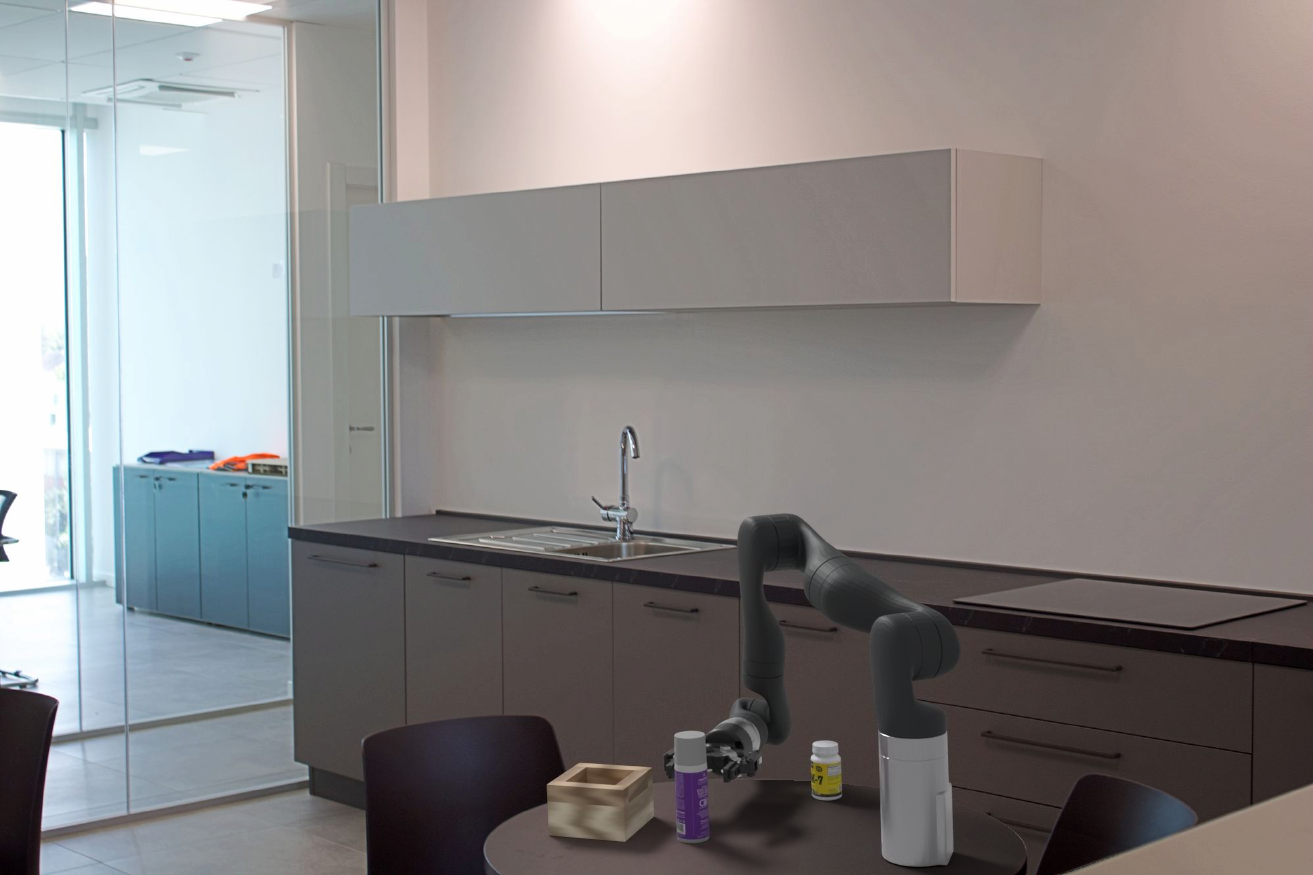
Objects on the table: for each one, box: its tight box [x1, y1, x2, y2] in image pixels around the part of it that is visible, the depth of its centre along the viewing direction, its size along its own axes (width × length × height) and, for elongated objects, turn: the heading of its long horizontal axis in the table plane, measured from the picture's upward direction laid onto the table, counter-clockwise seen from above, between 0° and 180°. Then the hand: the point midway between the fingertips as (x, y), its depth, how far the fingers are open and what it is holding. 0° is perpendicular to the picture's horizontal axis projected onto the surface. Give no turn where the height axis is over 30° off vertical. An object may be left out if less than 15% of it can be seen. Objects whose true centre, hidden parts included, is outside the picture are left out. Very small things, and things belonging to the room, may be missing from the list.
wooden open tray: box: [546, 762, 655, 843], centre depth 206 cm, size 12×12×8 cm
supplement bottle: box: [810, 740, 843, 801], centre depth 217 cm, size 5×5×8 cm
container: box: [673, 730, 710, 844], centre depth 199 cm, size 5×5×15 cm
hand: (697, 774), depth 201 cm, fingers open, 8 cm apart
